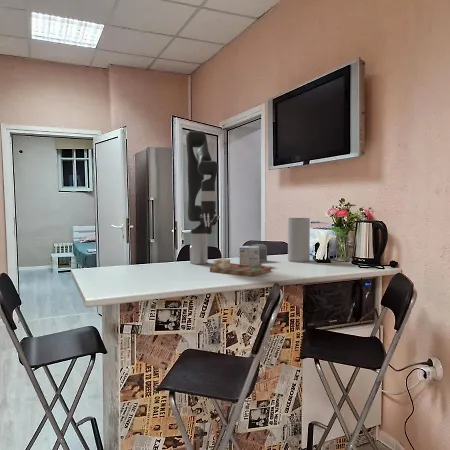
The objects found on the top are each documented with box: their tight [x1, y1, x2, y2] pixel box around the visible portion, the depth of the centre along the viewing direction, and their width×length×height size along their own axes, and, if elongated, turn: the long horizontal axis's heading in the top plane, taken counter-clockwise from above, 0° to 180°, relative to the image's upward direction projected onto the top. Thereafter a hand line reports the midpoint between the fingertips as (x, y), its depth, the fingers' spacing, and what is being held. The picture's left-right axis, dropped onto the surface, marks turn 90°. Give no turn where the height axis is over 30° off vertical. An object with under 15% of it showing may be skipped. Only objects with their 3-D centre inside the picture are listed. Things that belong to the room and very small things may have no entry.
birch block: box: [213, 258, 231, 269], centre depth 201 cm, size 6×6×4 cm
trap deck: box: [209, 262, 272, 277], centre depth 200 cm, size 25×18×5 cm
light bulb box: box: [238, 245, 260, 265], centre depth 217 cm, size 11×7×11 cm, turn 84°
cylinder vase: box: [287, 217, 311, 263], centre depth 233 cm, size 12×12×25 cm
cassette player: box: [248, 243, 268, 262], centre depth 233 cm, size 16×3×10 cm, turn 113°
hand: (208, 234), depth 204 cm, fingers closed
